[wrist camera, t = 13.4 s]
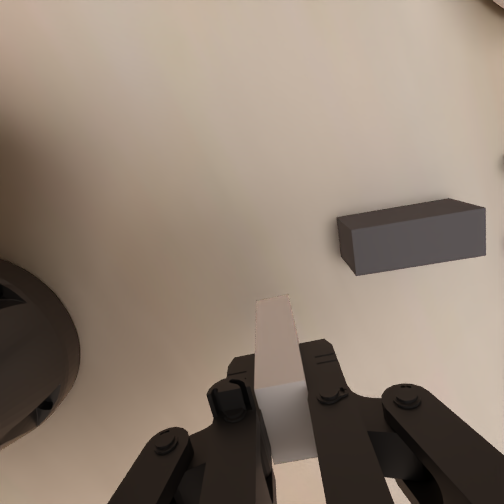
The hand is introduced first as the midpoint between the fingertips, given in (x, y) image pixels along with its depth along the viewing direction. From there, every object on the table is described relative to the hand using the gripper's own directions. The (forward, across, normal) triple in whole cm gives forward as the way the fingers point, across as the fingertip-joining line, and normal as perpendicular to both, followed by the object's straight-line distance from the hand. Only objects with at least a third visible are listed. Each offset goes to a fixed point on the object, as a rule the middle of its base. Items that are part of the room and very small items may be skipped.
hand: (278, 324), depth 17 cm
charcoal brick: (+11, +9, 0) cm, 14 cm away
